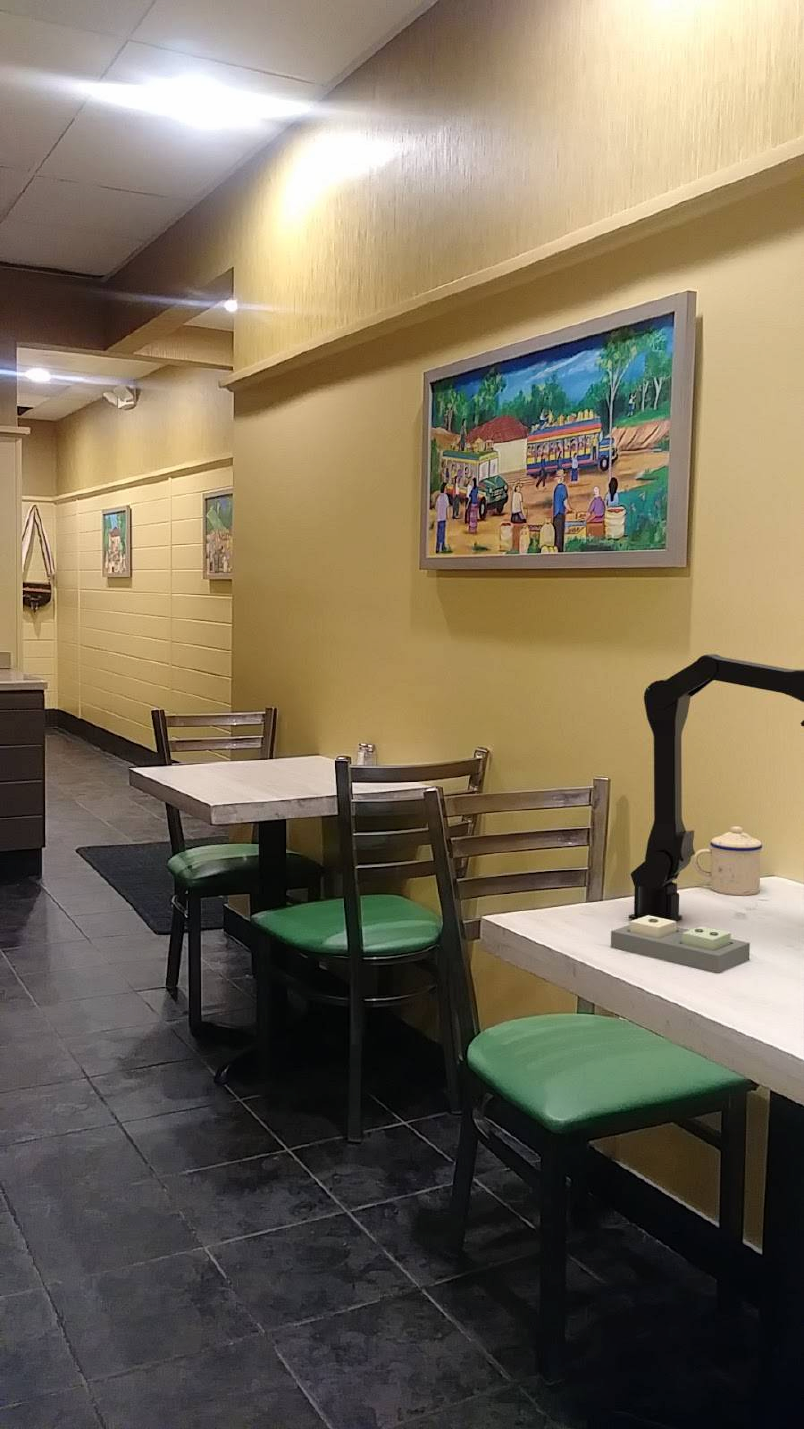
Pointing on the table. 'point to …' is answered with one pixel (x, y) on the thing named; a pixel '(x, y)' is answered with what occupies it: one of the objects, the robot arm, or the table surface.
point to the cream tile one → (653, 926)
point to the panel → (681, 950)
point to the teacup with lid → (733, 863)
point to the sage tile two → (706, 938)
